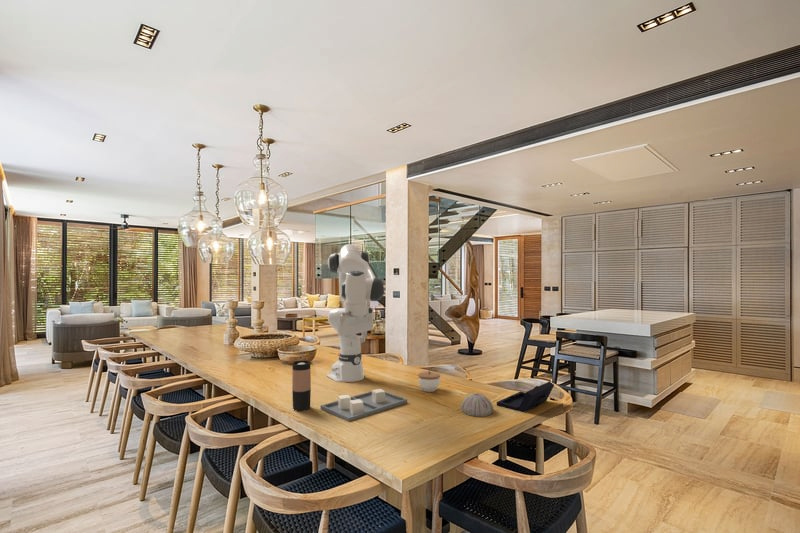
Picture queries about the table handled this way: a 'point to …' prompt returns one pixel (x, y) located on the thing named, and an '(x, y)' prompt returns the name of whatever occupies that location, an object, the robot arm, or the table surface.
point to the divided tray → (364, 406)
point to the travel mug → (301, 385)
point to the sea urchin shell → (477, 405)
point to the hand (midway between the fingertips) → (356, 344)
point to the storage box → (527, 398)
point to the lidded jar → (429, 381)
